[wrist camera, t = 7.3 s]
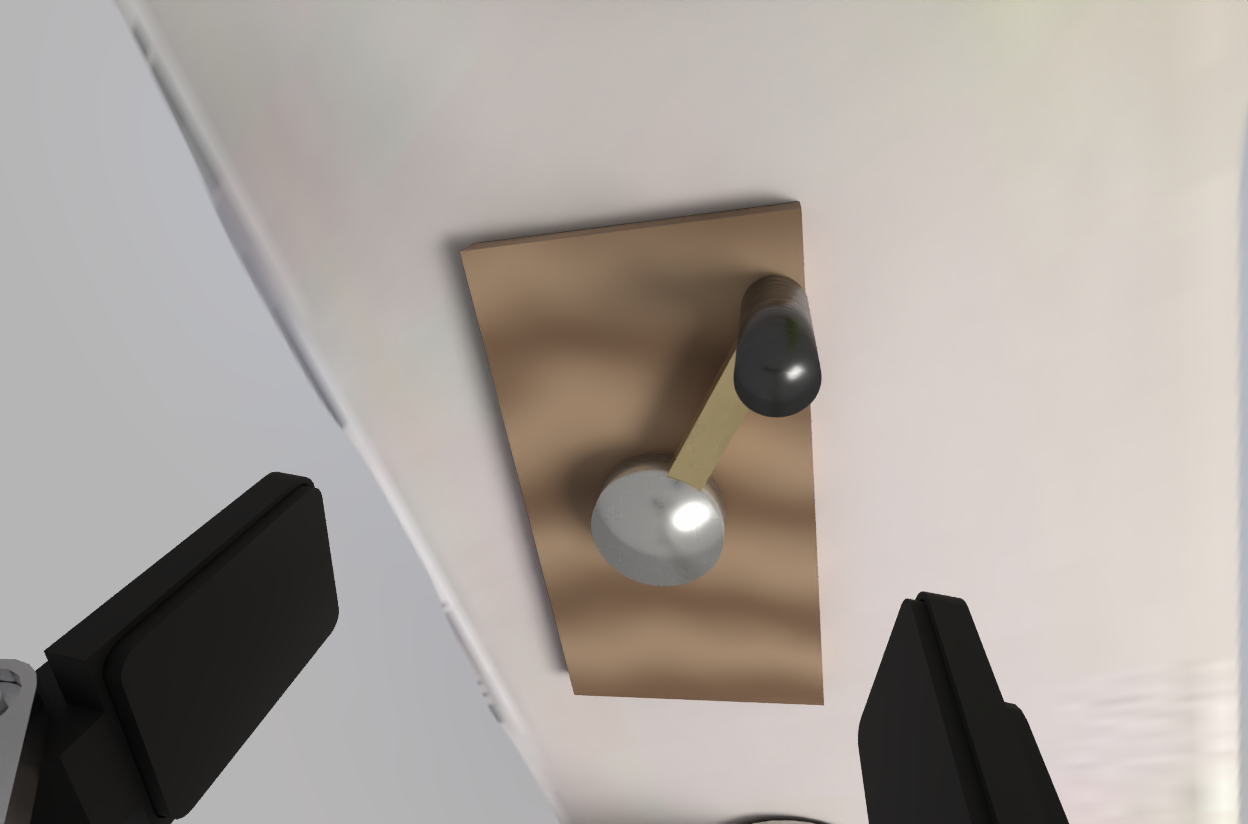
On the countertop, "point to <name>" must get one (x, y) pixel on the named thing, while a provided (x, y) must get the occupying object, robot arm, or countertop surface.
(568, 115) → the countertop surface
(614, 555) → the ice cream scoop
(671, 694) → the brown flat rectangular board
